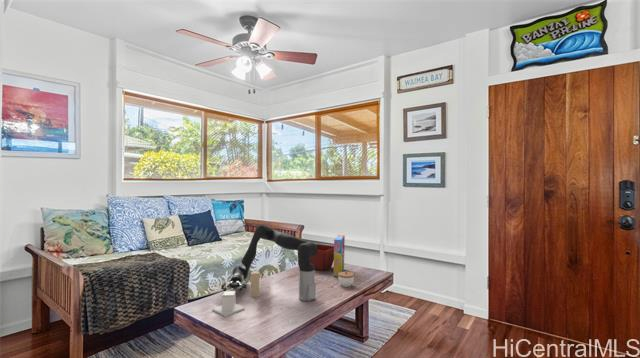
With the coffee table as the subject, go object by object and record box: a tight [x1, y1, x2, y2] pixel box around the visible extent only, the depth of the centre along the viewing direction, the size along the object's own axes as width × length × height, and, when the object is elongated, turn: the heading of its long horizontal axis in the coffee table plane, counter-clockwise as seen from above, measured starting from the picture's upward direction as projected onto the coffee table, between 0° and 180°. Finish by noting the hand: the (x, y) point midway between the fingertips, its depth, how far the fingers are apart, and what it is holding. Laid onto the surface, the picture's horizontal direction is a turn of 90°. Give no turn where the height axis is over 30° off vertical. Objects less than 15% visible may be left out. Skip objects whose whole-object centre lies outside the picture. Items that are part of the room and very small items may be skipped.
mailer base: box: [250, 270, 260, 298], centre depth 188 cm, size 5×5×14 cm
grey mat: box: [211, 303, 245, 318], centre depth 166 cm, size 12×12×1 cm
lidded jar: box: [337, 270, 355, 288], centre depth 209 cm, size 11×11×9 cm
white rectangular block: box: [221, 290, 237, 311], centre depth 166 cm, size 6×6×8 cm
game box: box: [332, 234, 346, 277], centre depth 237 cm, size 21×6×27 cm, turn 168°
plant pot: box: [310, 243, 334, 272], centre depth 248 cm, size 19×19×17 cm
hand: (232, 289), depth 177 cm, fingers open, 8 cm apart
